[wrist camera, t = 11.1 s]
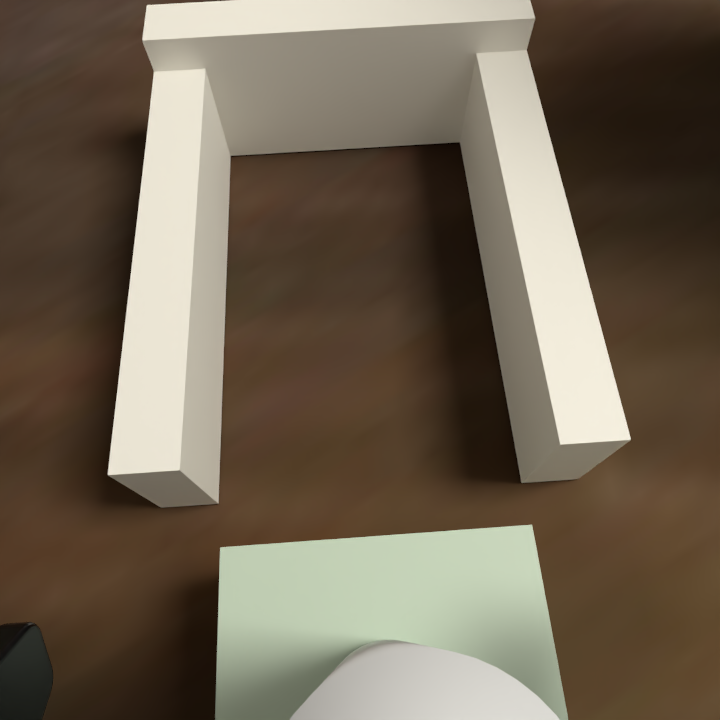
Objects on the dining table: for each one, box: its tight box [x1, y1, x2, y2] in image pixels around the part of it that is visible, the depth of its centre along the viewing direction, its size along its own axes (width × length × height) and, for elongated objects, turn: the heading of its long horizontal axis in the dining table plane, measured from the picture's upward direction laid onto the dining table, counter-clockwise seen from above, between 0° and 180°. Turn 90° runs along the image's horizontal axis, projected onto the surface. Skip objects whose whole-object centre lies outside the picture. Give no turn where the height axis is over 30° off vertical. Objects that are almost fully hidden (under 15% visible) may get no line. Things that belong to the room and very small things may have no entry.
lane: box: [108, 0, 631, 508], centre depth 16 cm, size 14×11×4 cm
